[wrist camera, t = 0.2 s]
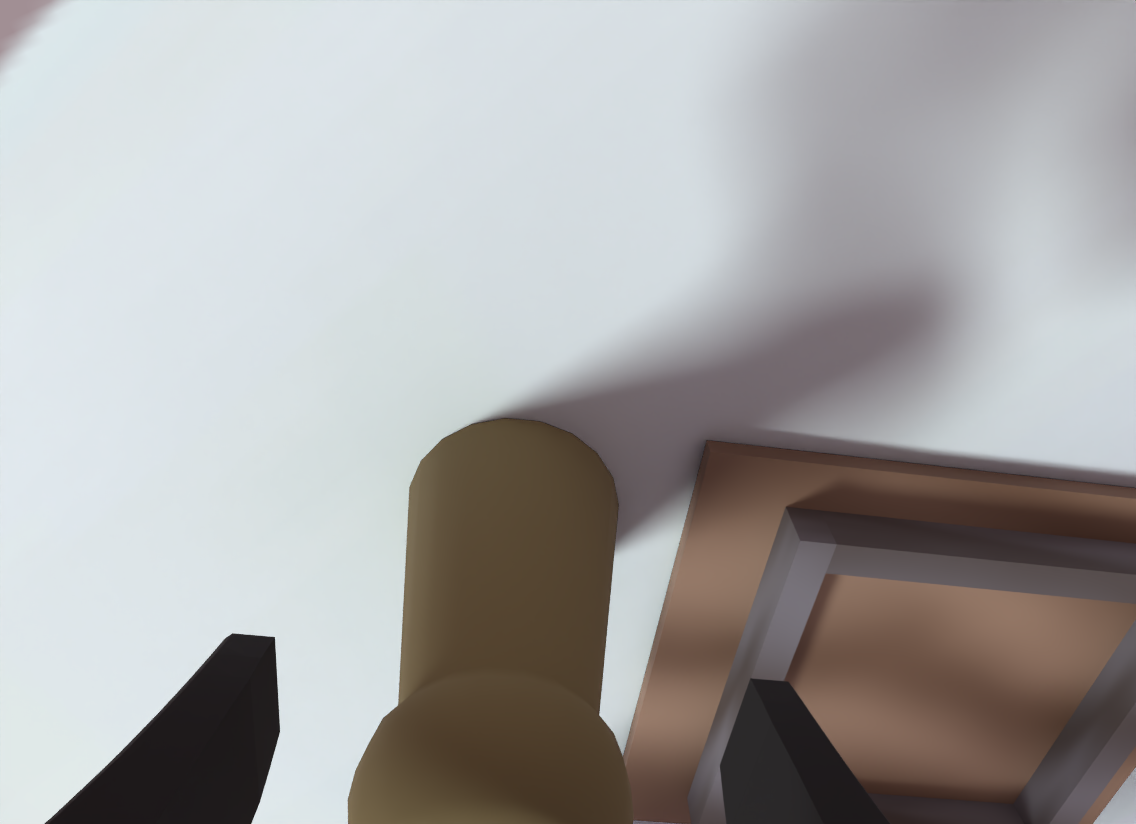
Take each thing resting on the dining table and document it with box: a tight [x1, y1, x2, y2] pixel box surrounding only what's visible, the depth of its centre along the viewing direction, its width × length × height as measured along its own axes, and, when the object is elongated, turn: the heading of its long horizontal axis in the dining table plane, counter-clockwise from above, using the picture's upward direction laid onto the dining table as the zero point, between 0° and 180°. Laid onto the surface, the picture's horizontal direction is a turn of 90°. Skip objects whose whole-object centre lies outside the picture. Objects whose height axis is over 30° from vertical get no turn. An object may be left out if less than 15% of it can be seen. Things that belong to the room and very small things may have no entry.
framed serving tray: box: [623, 440, 1136, 824], centre depth 25 cm, size 16×18×2 cm
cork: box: [348, 418, 634, 824], centre depth 18 cm, size 6×6×11 cm
